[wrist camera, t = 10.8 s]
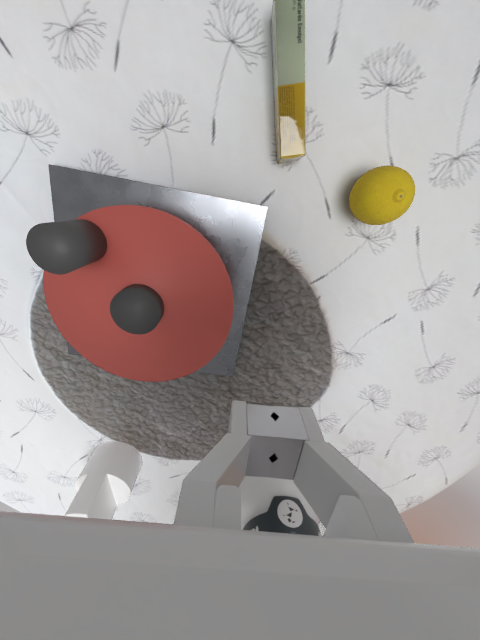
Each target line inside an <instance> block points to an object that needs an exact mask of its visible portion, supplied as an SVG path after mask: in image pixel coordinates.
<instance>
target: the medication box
mask: <svg viewBox="0 0 480 640" xmlns="http://www.w3.org/2000/svg"><path fill="white" fill-rule="evenodd" d="M271 28H272V54H273V80H274V102H275V126H276V149H277V162H278V164H279V163H288V162H293V161H297V160H299V159H300V158H302V157H303V156H305V0H273V6H272V15H271Z"/></svg>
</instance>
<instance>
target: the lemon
mask: <svg viewBox="0 0 480 640" xmlns="http://www.w3.org/2000/svg"><path fill="white" fill-rule="evenodd" d="M414 195H415V185H414V181H413V179H412V177H411V175H410V174H409V173H408V172H407V171H405V170H403V169H401V168H399V167H394V166H382V167H377V168H374V169H372V170H370V171H368V172H366V173H365V174H364V175H362V176H361V177H360V178H359V179H358V180H357V181H356V183H355V184H354V186H353V188H352V190H351V193H350V197H349V205H350V209H351V212H352V214H353V215H354V216H355V217H356V218H357V219H358V220H360V221H361V222H363V223H366V224H370V225H381V224H385V223H389V222H391V221H393V220H395V219H397V218H399V217H400V216H401V215H403V214H404V213H405V212H406V211H407V209H408V208H409V207H410V205H411V203H412V201H413V198H414Z"/></svg>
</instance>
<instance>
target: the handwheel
mask: <svg viewBox="0 0 480 640" xmlns="http://www.w3.org/2000/svg"><path fill="white" fill-rule="evenodd" d="M26 245H27V249H28V252H29V254H30V256H31V258H32V259H33V261H34V262H35V263H36V264H37V265H38V266H39V267H41V268H42V269H44V274H43V282H44V293H45V299H46V302H47V306H48V309H49V312H50V314H51V316H52V318H53V321H54V322H55V324H56V326H57V328H58V329H59V331H60V332H61V334H62V335H63V336H64V338H65V339H66V340H67V341H68V342H69V344H70V345H71V346H72V347H73V348H74V349H75V350H76V351H77V352H79V353H80V354H81V355H82V356H83V357H84V358H86V359H87V360H89V361H90V362H91V363H93V364H94V365H96V366H98V367H100V368H102V369H103V370H105V371H108V372H110V373H112V374H115V375H118V376H121V377H124V378H128V379H132V380H138V381H149V382H158V381H168V380H173V379H177V378H180V377H184V376H187V375H189V374H191V373H193V372H195V371H197V370H198V369H200V368H202V367H203V366H205V365H206V364H207V363H208V362H209V361H210V360H212V359H213V357H214V356H215V355H216V354H217V353H218V352H219V350H220V349H221V347H222V346H223V344H224V343H225V341H226V339H227V336H228V334H229V331H230V328H231V325H232V319H233V308H234V298H233V289H232V285H231V281H230V277H229V274H228V272H227V269H226V267H225V265H224V263H223V261H222V259H221V258H220V256H219V254H218V253H217V251H216V250H215V249H214V247H213V246H212V245H211V243H210V242H209V241H208V240H207V239H206V238H205V237H204V236H203V235H202V234H201V233H200V232H198V231H197V230H196V229H195V228H194V227H192V226H191V225H190V224H188V223H186V222H185V221H183V220H182V219H180V218H178V217H176V216H174V215H172V214H169V213H167V212H165V211H162V210H158V209H155V208H151V207H146V206H140V205H116V206H107V207H103V208H99V209H95V210H92V211H90V212H88V213H86V214H83V215H81V216H80V217H78V218H77V219H75V220H69V221H60V222H51V223H42V224H38V225H36V226H34V227H33V228H32V229H30V231H29V233H28V235H27V239H26Z"/></svg>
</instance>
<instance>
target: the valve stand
mask: <svg viewBox="0 0 480 640" xmlns="http://www.w3.org/2000/svg"><path fill="white" fill-rule="evenodd" d="M49 174H50V183H51V192H52V202H53V211H54V221H55V222H60V221H69V220H75V219H77V218H78V217H80V216H81V215H83V214H86V213H88V212H90V211H92V210H95V209H99V208H103V207H107V206H116V205H140V206H146V207H151V208H155V209H158V210H162V211H165V212H167V213H169V214H172V215H174V216H176V217H178V218H180V219H182V220H183V221H185V222H186V223H188V224H190V225H191V226H192V227H194V228H195V229H196V230H197V231H198V232H200V233H201V234H202V235H203V236H204V237H205V238H206V239H207V240H208V241H209V242H210V243H211V245H212V246H213V247H214V249H215V250H216V251H217V253H218V254H219V256H220V258H221V259H222V261H223V263H224V265H225V267H226V269H227V272H228V274H229V277H230V281H231V285H232V289H233V298H234V308H233V319H232V325H231V328H230V331H229V334H228V336H227V339H226V341H225V343H224V344H223V346H222V347H221V349H220V350H219V352H218V353H217V354H216V355H215V356H214V357H213V359H212V360H210V361H209V362H208V363H207V364H206V365H205V366H203V367H202V368H200V369H198V370H197V371H195V372H200V373H208V374H215V375H222V376H229V377H233V376H234V371H235V366H236V361H237V356H238V351H239V346H240V341H241V336H242V331H243V326H244V321H245V317H246V312H247V307H248V302H249V297H250V292H251V287H252V282H253V277H254V272H255V267H256V262H257V257H258V253H259V248H260V243H261V238H262V233H263V228H264V223H265V218H266V213H267V208H268V207H265V206H260V205H255V204H250V203H244V202H239V201H234V200H229V199H224V198H219V197H214V196H209V195H203V194H198V193H193V192H188V191H183V190H178V189H173V188H167V187H162V186H157V185H152V184H147V183H142V182H137V181H132V180H126V179H121V178H116V177H111V176H106V175H101V174H96V173H91V172H85V171H80V170H75V169H70V168H65V167H60V166H55V165H50V164H49ZM67 343H68V352H69V354H72V355H79V356H82V355H81V354H80V353H79V352H77V351H76V350H75V349H74V348H73V347H72V346H71V345H70V344H69V342H68V341H67Z"/></svg>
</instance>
